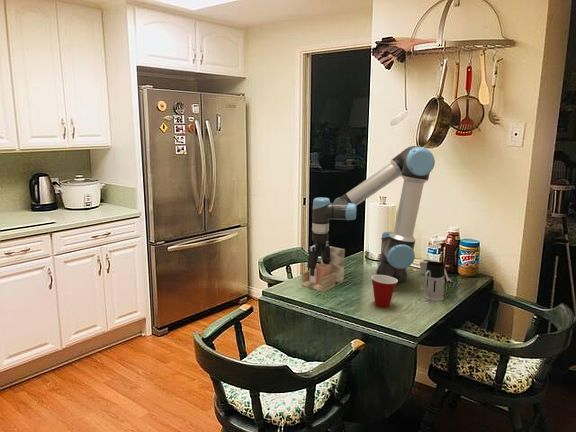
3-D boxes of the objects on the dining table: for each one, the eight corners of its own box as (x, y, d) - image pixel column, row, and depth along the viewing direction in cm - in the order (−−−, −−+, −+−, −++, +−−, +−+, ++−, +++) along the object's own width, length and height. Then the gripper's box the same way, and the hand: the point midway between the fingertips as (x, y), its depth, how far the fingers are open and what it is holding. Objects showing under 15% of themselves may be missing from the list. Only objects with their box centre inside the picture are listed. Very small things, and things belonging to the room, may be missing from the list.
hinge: (451, 282, 222) (447, 264, 219) (443, 286, 221) (439, 268, 218) (428, 272, 237) (424, 254, 234) (421, 275, 236) (417, 258, 233)
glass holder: (446, 296, 204) (449, 263, 201) (433, 305, 193) (436, 271, 190) (427, 291, 209) (430, 259, 206) (413, 300, 199) (416, 266, 196)
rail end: (328, 282, 214) (329, 266, 212) (322, 285, 210) (323, 268, 209) (314, 279, 219) (315, 262, 217) (308, 281, 215) (309, 265, 214)
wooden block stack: (343, 281, 220) (344, 249, 217) (323, 291, 207) (324, 256, 204) (322, 276, 228) (323, 244, 225) (301, 285, 215) (302, 251, 212)
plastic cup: (401, 309, 189) (403, 281, 187) (377, 311, 186) (378, 283, 184) (388, 299, 199) (389, 272, 197) (365, 301, 196) (366, 274, 194)
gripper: (326, 226, 220) (324, 272, 225) (299, 234, 204) (298, 283, 209) (339, 229, 216) (337, 276, 220) (313, 237, 200) (312, 287, 204)
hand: (318, 279), depth 214 cm, fingers open, 8 cm apart
